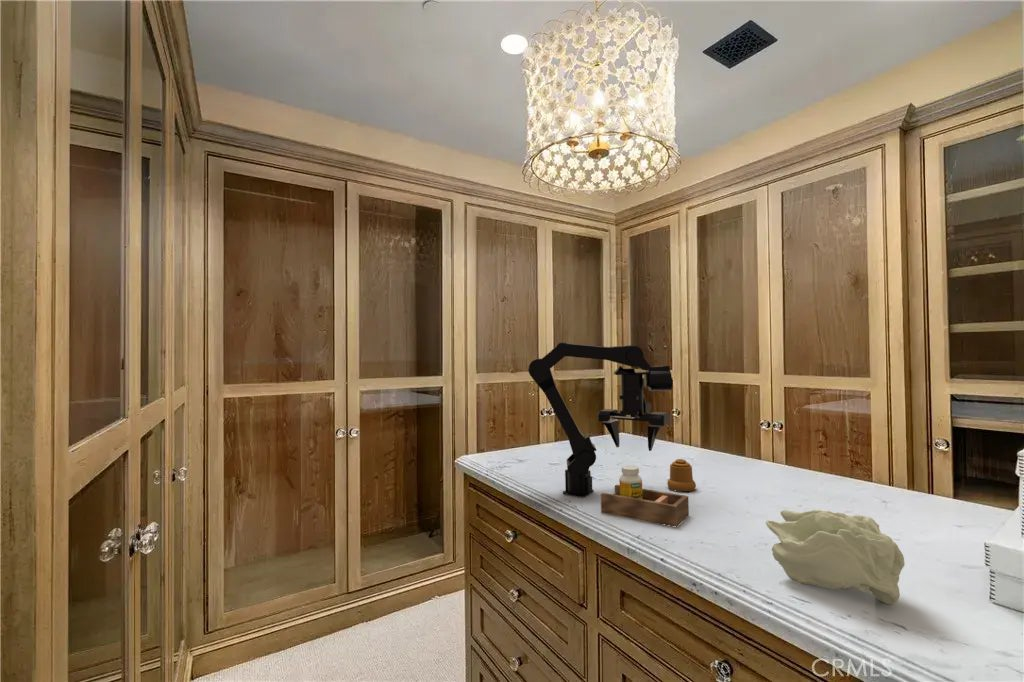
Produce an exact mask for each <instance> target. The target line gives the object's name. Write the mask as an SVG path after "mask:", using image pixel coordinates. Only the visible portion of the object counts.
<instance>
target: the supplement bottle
mask: <svg viewBox="0 0 1024 682" xmlns="http://www.w3.org/2000/svg"><path fill="white" fill-rule="evenodd" d="M621 472H622V474H621V475H619V478H618V479H619V480H618V481H619V484H618V485H620V496H626V497H631V498H637V499H643V495H642V489H643V479H642V477H641V476H640V475H639V473H640V470H639V466H636V465H622V466H621Z"/></svg>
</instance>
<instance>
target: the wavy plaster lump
mask: <svg viewBox="0 0 1024 682" xmlns="http://www.w3.org/2000/svg"><path fill="white" fill-rule="evenodd" d="M780 515H781V516H782V518H783V520H784V521H782V522H778V521H777V522H776V521H774V520H767V521H765V525H766V526H767V528H768V529H769V530H770V531H771V532H772V533H773V534H774V535H775V536H777V538H778V539H779V542H777V543H774V544H773V545H772V546H771V547H772V548H771V551H772V556H773V558H774V560H775V561H777V562H778V564H779V565H780V567H782V569H783V571H784V573H785V574H786V576H787V577H788V578H789V579H790V580H791V581H797V582H798V583H800V584H803V585H814V586H820V587H823V588H825V589H833V590H845V589H846V590H847V589H851V588H855V589H858V590H860V591H862V592H864V593H867V592H869V591H870V592H871V594H872V595H873V596H874V597H875V598H876V599H877V600H879V601H880V602H882V603H884V604H887V605H892V604H895V603H897V602H898V601H899V599H900V595H901V594H900V587H899V581H900V575H901V571H902V570H903V569H904V567H905V564H906V563H905V557H904V555H903V553H902V551H901V550H900V548H899V546H898V544H897V543H896V542H895V541H894V540H893V539H892V538H891V537H890V536H889V535H887V534H884V533H882V531H881V530H880V525H879V524H878V523H877V522H876V520H875V519H874V518H872V517H869V516H865V515H860V514H855V515H853V516H851V515H847V514H845V513H843V512H834V511H830V510H821V509H813V510H809V511H804V512H803V511H802V512H799V511H793V510H788V509H784V510H781V511H780Z"/></svg>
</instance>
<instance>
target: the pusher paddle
mask: <svg viewBox="0 0 1024 682" xmlns="http://www.w3.org/2000/svg"><path fill="white" fill-rule="evenodd" d="M655 502H660V503H666V504H668V496H664V495H662V496H661V497H660V498H658V499H657V500H656V501H655Z"/></svg>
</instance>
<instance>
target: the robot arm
mask: <svg viewBox="0 0 1024 682" xmlns="http://www.w3.org/2000/svg"><path fill="white" fill-rule="evenodd" d="M644 356H645V355H644V351H643V350H642V349H641V348H640V347H639V346H638V345H634V344H632V345H630V344H627V345H617V346H615V345H614V346H599V345H589V344H580V343H568V342H566V341H562V342H561V341H560V342H558V343H557V345H556V346H555V347H554V348H553V349H551V350H550V351H549V352H548V353H547V354H546V355H544V356H543V357H542V358H536V359H534V360H532V361H531V362H530V364H529V366H528V370H527V371H528V374H529V376H530V377H531V378H532V380H533V381H534V382H535V384H537V386H538V387H539V388H540V389H541V391H542V392H543V393H544V395H545V397H546V399H547V400H548V402H549V404H550V407H551V409H552V410H553V411H554V414H555V416H556V418H557V419H558V422H559V423H560V425H561V427H562V430H563V431H564V433H565V435H566V436H567V440H568V442H569V445H570V448H571V452H572V454H570V455H569V456H568V458H567V459H566V469H564V477H565V478H564V480H565V481H564V482H565V483H564V484H565V490H563V491H562V494H563V495H567V496H573V497H578V498H585V497H587V496H589V495H591V494H592V493H594V492H595V490H594V489H593V477H592V476H591V473H592V472H591V470H590V467H592V466H593V465H594V464H595V463H596V460H597V455H596V451H597V448H596V446H595V444H594V443H593V442H592V440H591V438H590V437H591V436H590V435H589V433H588V432H587V433H585V434H583V433H582V431H581V430H580V429H579V427H578V425H577V423H576V422H575V419H574V418H573V415H572V414H571V412H570V410H569V408H568V406H567V405H566V403H565V401H564V398H563V397H562V395H561V393H560V391H559V390H558V387H557V386H556V382H555V380H554V376H553V372H552V368H553V367H554V366H555V365H557V364H558V363H559V362H560V361H562V359H564V358H565V357H572V358H582V359H591V360H592V359H594V360H604V361H608V362H613V363H616V364H619V366H618V367H617V369H616V370H614V371H613V375H615V376H620V388H621V389H620V390H621V393H620V394H621V395H619V400H621V410H618V409H611V408H605V409H602V410H599V411H598V412H597V416H596V418H597V422H601V424H602V425H603V426H605V428H606V429H607V431H608V432H609V435H610V437H611V438H612V440H613V443H614V444H615V447H616V448H619V447H620V432H619V431H620V430H619V426H620V423H621V421H620V420H622V421H624V420H625V421H636V422H639V421H640V422H648V423H649V425H647V427H646V428H647V448H648V451H649V452H651V451H652V450H653V447H654V444H655V441H656V438H657V435H658V433H659V431H660V430H661V429H662V428H664V427H666V425H669V424H671V415H670V414H669V412H665V411H653V412H651V411H652V403H651V402H649V401H648V400H646V395H645V393H644V387H645V388H648V391H649V392H657V391H658V392H661V391H662V392H663V391H665V392H666V391H667V392H669V391H672V390H673V385H674V383H673V382H674V381H673V377H672V372H671V369H670V365H660V366H657V365H655V366H651V365H650V364H649V362H648V361H647V360H646V359H645V358H644ZM620 365H623V366H627V367H631V368H623V367H622V366H620ZM632 367H635V368H636V369H638V370H643V371H636V370H635V368H632Z"/></svg>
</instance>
